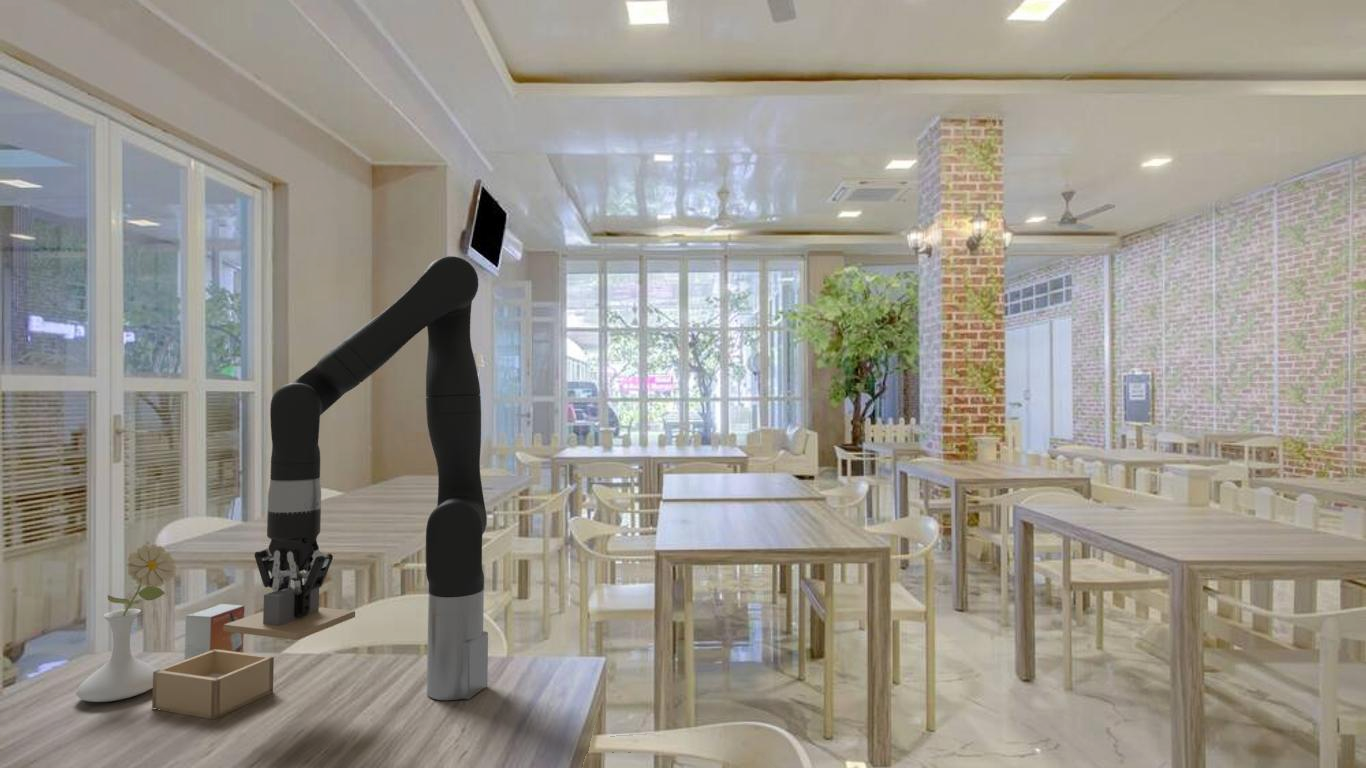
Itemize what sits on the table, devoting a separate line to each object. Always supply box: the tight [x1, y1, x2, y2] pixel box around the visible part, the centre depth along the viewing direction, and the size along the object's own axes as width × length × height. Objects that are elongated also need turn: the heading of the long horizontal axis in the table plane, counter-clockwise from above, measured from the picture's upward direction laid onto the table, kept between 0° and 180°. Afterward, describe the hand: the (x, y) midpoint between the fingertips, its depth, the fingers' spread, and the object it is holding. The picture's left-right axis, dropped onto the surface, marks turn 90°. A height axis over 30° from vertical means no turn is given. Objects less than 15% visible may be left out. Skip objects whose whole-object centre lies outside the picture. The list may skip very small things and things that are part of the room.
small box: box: [184, 603, 245, 660], centre depth 133 cm, size 8×6×10 cm
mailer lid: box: [224, 582, 356, 641], centre depth 113 cm, size 14×12×6 cm
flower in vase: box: [75, 543, 177, 703], centre depth 121 cm, size 13×11×25 cm
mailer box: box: [151, 649, 275, 720], centre depth 118 cm, size 13×11×6 cm
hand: (291, 614), depth 113 cm, fingers closed on mailer lid, 3 cm apart
